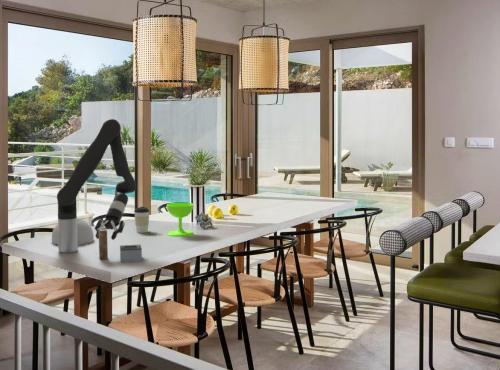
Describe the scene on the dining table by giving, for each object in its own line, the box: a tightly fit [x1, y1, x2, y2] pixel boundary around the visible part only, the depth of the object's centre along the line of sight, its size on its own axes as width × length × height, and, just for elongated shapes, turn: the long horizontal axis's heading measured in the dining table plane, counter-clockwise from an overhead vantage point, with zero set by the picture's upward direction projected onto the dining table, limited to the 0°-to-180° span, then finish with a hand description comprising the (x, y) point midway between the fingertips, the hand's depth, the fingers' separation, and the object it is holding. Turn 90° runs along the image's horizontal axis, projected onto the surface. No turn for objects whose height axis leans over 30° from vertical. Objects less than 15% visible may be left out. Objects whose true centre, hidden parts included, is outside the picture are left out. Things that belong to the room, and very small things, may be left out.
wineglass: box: [166, 202, 195, 238], centre depth 339 cm, size 16×16×18 cm
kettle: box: [51, 216, 95, 246], centre depth 320 cm, size 25×23×22 cm
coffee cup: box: [133, 206, 150, 234], centre depth 347 cm, size 9×9×15 cm
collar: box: [119, 244, 143, 263], centre depth 276 cm, size 10×10×6 cm
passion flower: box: [194, 211, 214, 230], centre depth 362 cm, size 11×11×12 cm
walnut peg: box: [98, 229, 109, 261], centre depth 277 cm, size 4×4×14 cm
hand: (104, 238), depth 278 cm, fingers open, 8 cm apart
